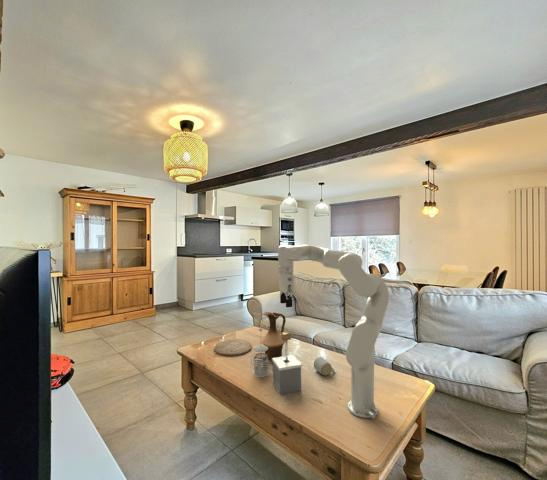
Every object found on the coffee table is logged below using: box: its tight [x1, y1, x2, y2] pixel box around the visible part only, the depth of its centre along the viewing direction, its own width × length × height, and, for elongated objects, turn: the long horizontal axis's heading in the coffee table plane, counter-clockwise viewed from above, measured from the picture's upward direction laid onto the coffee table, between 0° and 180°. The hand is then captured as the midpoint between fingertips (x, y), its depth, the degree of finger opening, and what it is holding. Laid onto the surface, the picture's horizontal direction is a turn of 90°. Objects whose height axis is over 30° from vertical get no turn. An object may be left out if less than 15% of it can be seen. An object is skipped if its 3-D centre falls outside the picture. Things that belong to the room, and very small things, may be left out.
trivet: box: [213, 338, 252, 357], centre depth 193 cm, size 25×25×2 cm
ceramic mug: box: [313, 356, 335, 377], centre depth 159 cm, size 11×8×8 cm
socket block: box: [271, 354, 303, 396], centre depth 146 cm, size 16×12×13 cm
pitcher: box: [259, 311, 287, 361], centre depth 180 cm, size 18×17×28 cm
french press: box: [250, 328, 271, 378], centre depth 158 cm, size 10×12×25 cm
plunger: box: [280, 331, 292, 363], centre depth 144 cm, size 5×5×18 cm
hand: (286, 304), depth 143 cm, fingers open, 7 cm apart
